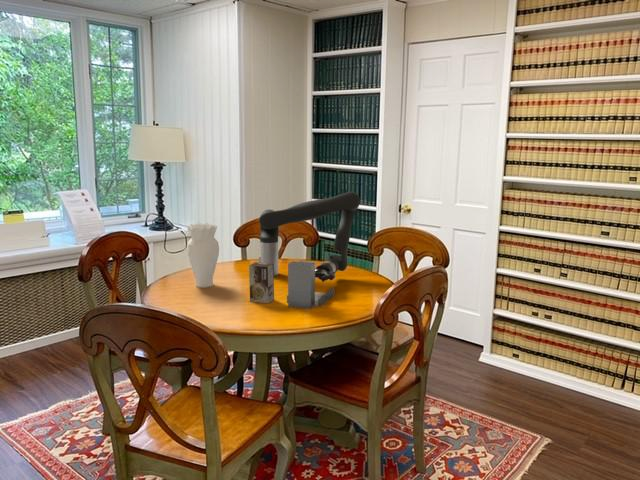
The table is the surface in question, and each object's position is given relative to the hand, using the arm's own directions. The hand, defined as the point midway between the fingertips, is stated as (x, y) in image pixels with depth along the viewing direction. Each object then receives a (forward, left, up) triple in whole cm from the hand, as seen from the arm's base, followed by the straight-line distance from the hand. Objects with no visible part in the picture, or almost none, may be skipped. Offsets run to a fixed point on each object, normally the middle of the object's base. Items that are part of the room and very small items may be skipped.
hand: (313, 278), depth 237 cm
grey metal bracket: (0, -6, -8) cm, 10 cm away
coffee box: (-19, -14, -8) cm, 25 cm away
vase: (-55, -2, -8) cm, 55 cm away
